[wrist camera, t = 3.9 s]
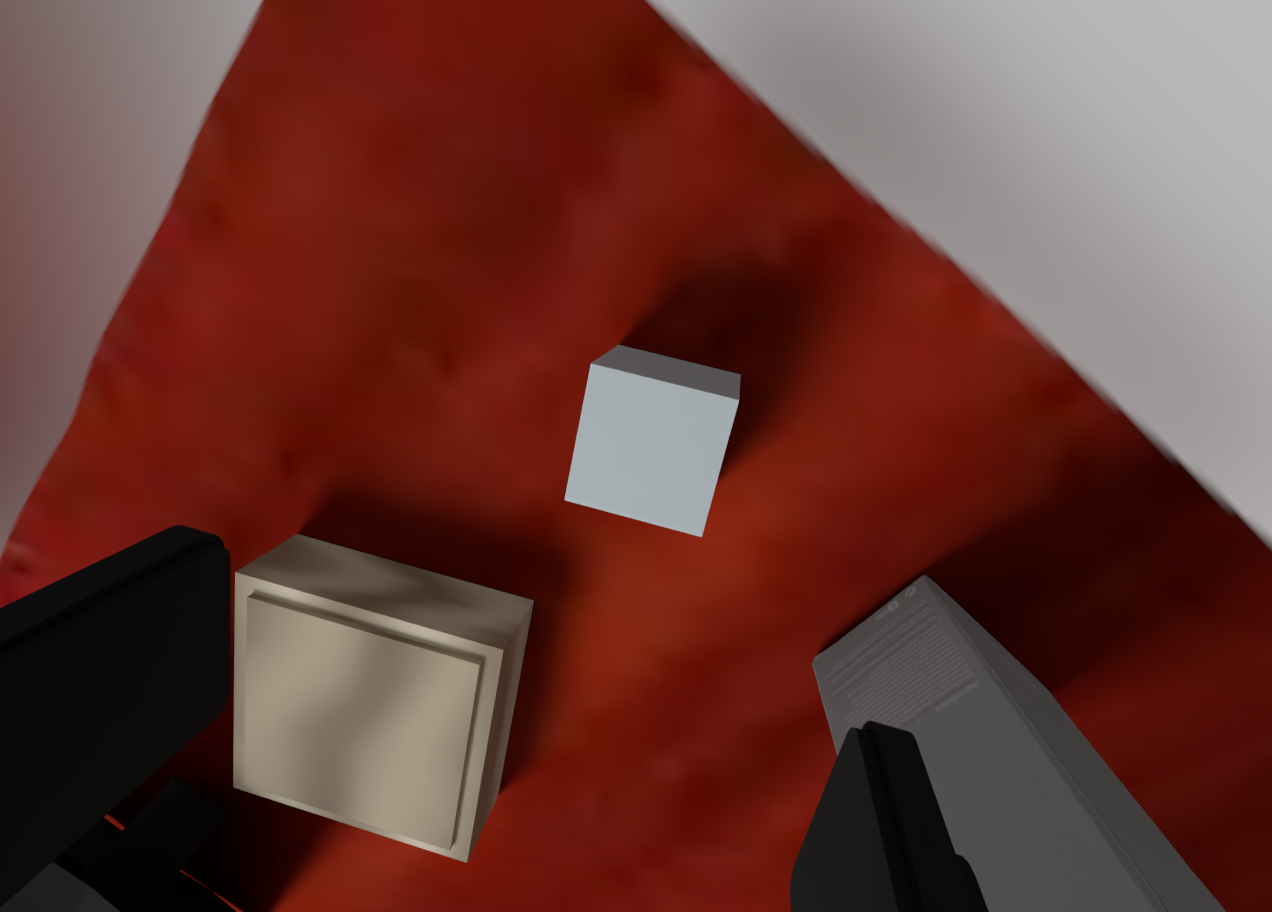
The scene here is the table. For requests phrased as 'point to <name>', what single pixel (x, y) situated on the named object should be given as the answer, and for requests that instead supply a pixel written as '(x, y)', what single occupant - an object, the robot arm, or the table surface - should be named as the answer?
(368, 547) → the table surface
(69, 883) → the decorative tree
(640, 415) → the block
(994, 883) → the skincare box
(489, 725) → the plinth
